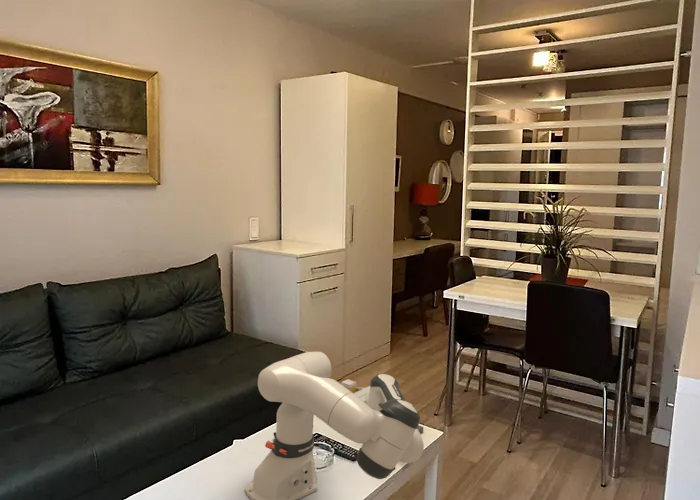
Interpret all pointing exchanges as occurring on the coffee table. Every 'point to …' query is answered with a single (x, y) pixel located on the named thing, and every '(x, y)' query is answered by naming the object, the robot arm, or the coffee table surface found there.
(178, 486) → the coffee table surface
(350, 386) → the block
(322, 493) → the coffee table surface
